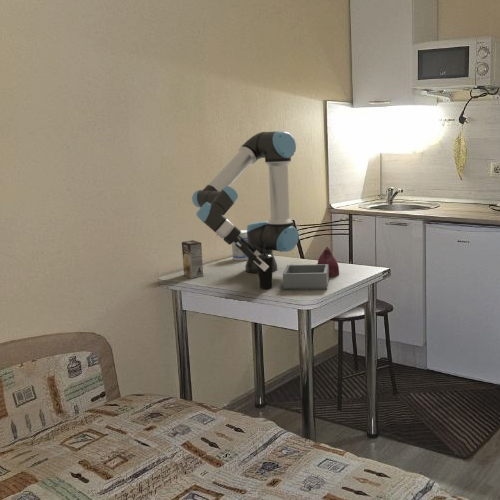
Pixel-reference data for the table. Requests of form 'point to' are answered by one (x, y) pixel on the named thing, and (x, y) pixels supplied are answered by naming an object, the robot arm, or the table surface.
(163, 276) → the table surface
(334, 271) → the vegetable
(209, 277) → the table surface
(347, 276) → the table surface
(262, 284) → the drinking cup
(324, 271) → the bin
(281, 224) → the robot arm
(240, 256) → the supplement tub
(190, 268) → the coffee box
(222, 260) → the table surface
